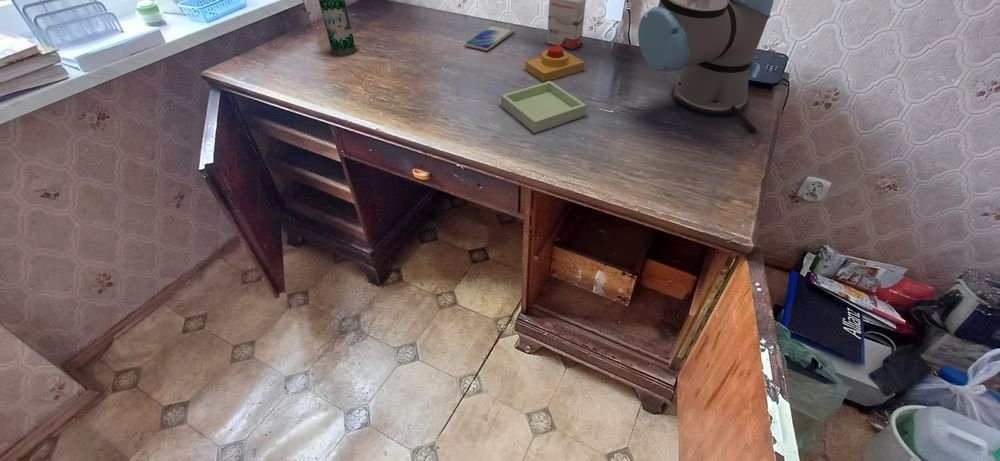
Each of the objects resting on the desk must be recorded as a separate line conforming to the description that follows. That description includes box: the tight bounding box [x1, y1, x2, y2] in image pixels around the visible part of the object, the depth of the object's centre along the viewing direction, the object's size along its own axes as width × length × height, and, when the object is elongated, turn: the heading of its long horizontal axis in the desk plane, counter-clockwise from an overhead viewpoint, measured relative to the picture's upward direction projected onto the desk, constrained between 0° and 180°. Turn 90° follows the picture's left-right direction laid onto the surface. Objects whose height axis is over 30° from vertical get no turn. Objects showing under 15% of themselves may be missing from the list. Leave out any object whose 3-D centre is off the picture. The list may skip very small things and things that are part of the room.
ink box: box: [546, 0, 586, 50], centre depth 124 cm, size 9×5×12 cm, turn 58°
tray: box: [500, 80, 587, 134], centre depth 100 cm, size 13×13×3 cm
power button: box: [547, 45, 564, 58], centre depth 113 cm, size 4×4×2 cm
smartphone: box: [465, 25, 514, 52], centre depth 129 cm, size 7×1×15 cm
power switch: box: [524, 49, 585, 83], centre depth 114 cm, size 8×12×4 cm, turn 121°
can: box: [318, 0, 357, 57], centre depth 120 cm, size 6×6×15 cm
